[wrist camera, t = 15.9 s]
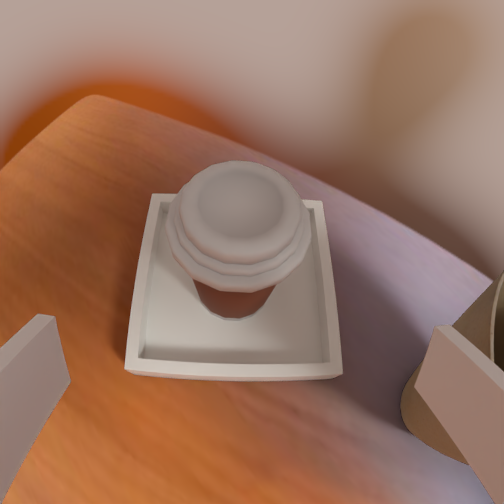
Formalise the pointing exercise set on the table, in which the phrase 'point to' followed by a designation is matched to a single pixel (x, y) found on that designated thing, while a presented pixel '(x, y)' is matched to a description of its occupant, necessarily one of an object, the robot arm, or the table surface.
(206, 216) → the coffee cup
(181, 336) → the tray
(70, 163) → the table surface
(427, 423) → the plant pot
